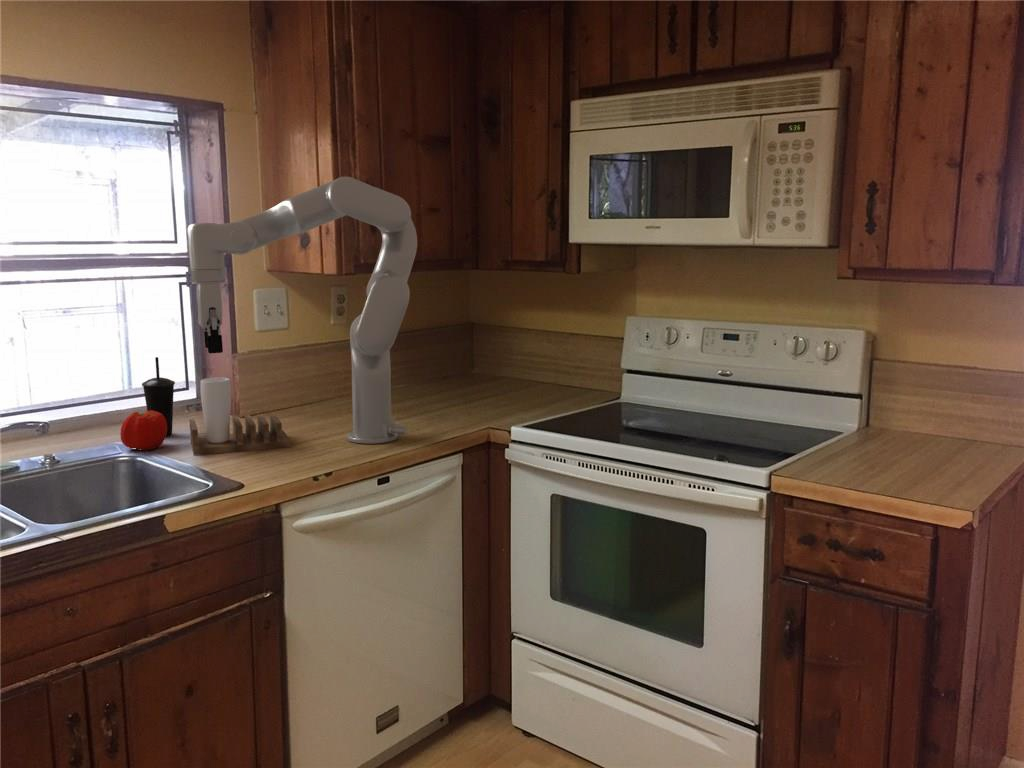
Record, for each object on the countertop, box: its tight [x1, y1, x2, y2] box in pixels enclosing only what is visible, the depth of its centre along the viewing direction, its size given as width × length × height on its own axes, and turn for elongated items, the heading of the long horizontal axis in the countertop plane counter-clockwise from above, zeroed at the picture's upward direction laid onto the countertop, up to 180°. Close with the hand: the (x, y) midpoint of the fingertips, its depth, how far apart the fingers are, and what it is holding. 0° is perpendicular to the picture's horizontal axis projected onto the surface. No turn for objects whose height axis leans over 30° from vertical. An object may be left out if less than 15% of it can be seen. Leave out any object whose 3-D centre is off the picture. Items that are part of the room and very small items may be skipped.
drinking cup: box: [141, 356, 176, 438], centre depth 214 cm, size 8×8×20 cm
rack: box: [189, 412, 291, 456], centre depth 207 cm, size 22×12×6 cm, turn 113°
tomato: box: [120, 410, 167, 451], centre depth 203 cm, size 11×11×9 cm
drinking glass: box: [199, 377, 232, 443], centre depth 204 cm, size 7×7×15 cm
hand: (213, 350), depth 201 cm, fingers open, 9 cm apart
